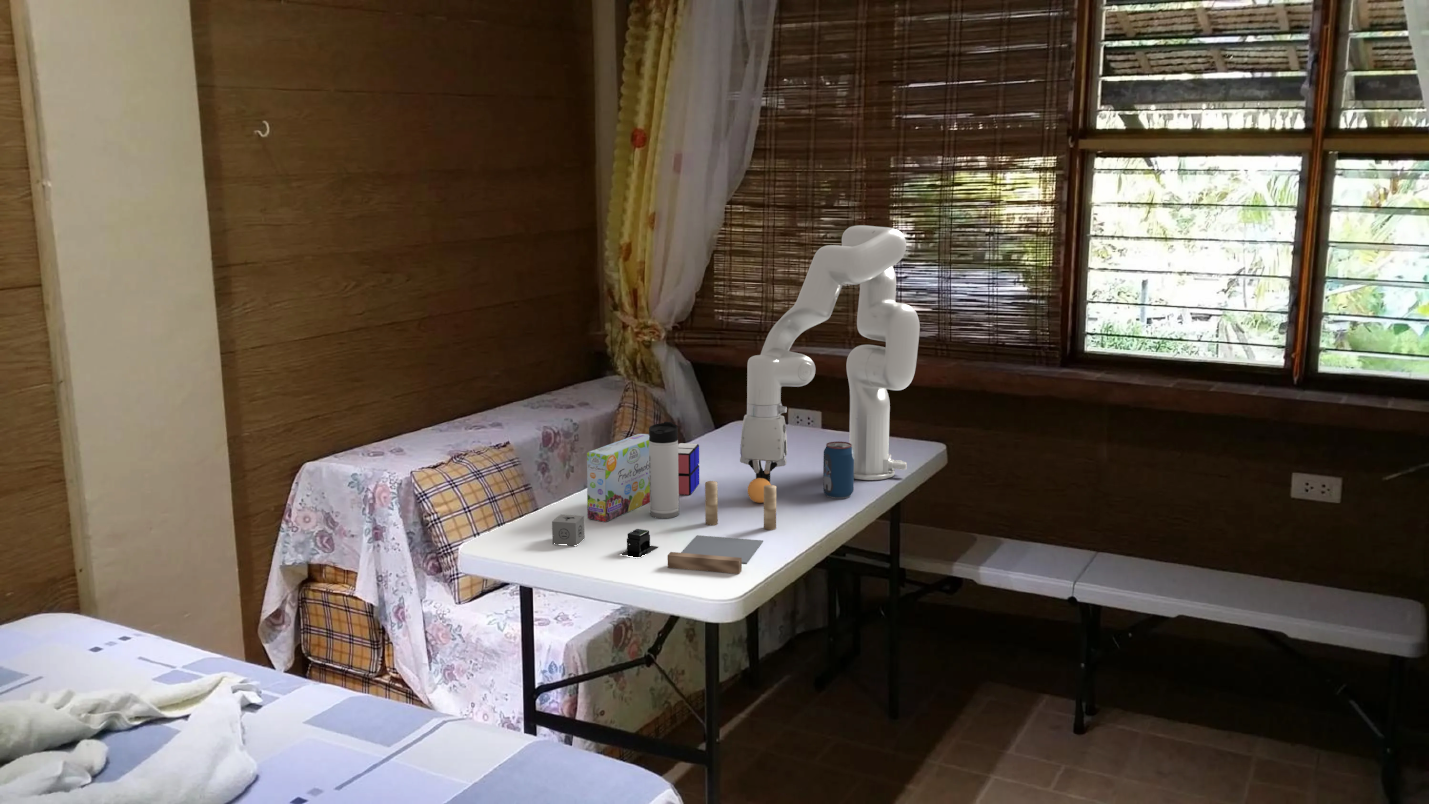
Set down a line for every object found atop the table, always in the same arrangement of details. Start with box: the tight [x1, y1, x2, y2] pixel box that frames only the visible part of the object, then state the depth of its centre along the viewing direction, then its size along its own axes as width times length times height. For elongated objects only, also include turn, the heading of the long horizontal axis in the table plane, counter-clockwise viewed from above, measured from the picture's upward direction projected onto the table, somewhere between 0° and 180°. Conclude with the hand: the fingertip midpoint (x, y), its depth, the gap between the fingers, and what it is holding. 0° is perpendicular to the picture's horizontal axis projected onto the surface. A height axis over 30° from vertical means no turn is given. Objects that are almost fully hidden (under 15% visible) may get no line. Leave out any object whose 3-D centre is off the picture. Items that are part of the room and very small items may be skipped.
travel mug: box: [648, 421, 680, 519], centre depth 268 cm, size 6×7×20 cm
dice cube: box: [551, 513, 585, 546], centre depth 251 cm, size 5×5×5 cm
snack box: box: [586, 433, 650, 523], centre depth 273 cm, size 21×6×15 cm, turn 151°
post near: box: [763, 484, 777, 531], centre depth 259 cm, size 3×3×9 cm
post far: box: [704, 480, 719, 526], centre depth 262 cm, size 3×3×9 cm
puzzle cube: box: [678, 442, 700, 496], centre depth 289 cm, size 10×10×10 cm
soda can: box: [822, 440, 855, 499], centre depth 282 cm, size 7×7×12 cm
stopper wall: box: [667, 551, 743, 575], centre depth 235 cm, size 14×2×2 cm, turn 75°
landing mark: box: [680, 534, 764, 564], centre depth 246 cm, size 14×14×1 cm
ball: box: [747, 477, 772, 504], centre depth 278 cm, size 6×6×6 cm
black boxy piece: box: [620, 528, 659, 558], centre depth 245 cm, size 12×7×5 cm, turn 153°
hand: (763, 489), depth 282 cm, fingers closed
